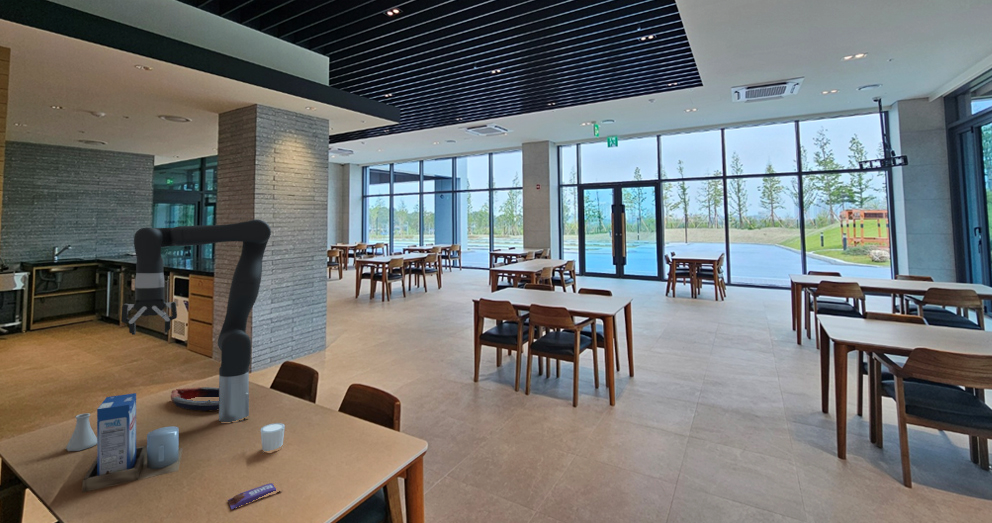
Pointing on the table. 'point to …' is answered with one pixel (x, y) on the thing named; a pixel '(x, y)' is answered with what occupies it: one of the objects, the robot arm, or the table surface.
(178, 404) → the dish
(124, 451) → the milk carton
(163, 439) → the pale blue rounded block
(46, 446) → the table surface
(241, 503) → the snack package
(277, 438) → the shot glass
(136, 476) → the caddy
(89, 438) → the flask
